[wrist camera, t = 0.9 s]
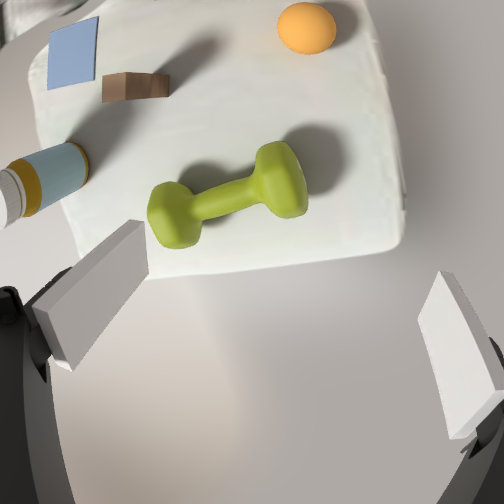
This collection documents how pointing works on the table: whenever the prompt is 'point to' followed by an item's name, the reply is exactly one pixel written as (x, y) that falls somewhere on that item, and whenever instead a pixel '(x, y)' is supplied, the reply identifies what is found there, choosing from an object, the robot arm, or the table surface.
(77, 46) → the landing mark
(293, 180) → the dumbbell
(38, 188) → the bottle
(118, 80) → the post
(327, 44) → the ball
